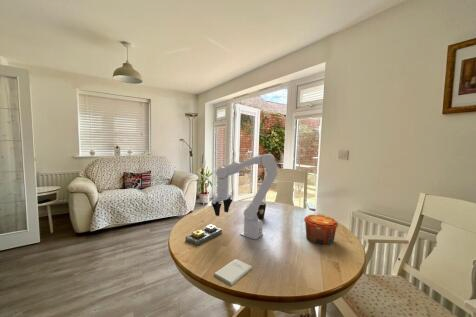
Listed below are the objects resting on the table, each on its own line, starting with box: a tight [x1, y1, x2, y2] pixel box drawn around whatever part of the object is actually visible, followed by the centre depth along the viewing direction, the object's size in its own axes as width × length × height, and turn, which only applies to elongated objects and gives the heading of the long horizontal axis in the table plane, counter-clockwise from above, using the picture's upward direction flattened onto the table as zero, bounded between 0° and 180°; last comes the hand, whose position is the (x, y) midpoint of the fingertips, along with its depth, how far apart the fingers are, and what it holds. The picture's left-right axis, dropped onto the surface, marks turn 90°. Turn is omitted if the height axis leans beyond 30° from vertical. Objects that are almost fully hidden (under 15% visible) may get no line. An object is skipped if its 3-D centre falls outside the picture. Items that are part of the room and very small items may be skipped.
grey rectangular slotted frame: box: [185, 226, 223, 246], centre depth 105 cm, size 8×18×2 cm, turn 145°
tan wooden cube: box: [191, 229, 204, 240], centre depth 101 cm, size 4×4×4 cm
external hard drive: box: [213, 258, 253, 286], centre depth 77 cm, size 2×8×12 cm
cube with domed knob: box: [204, 224, 217, 233], centre depth 108 cm, size 4×4×4 cm
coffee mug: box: [257, 200, 267, 221], centre depth 134 cm, size 12×9×10 cm
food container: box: [303, 214, 339, 246], centre depth 105 cm, size 16×16×11 cm
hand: (221, 213), depth 112 cm, fingers open, 7 cm apart
